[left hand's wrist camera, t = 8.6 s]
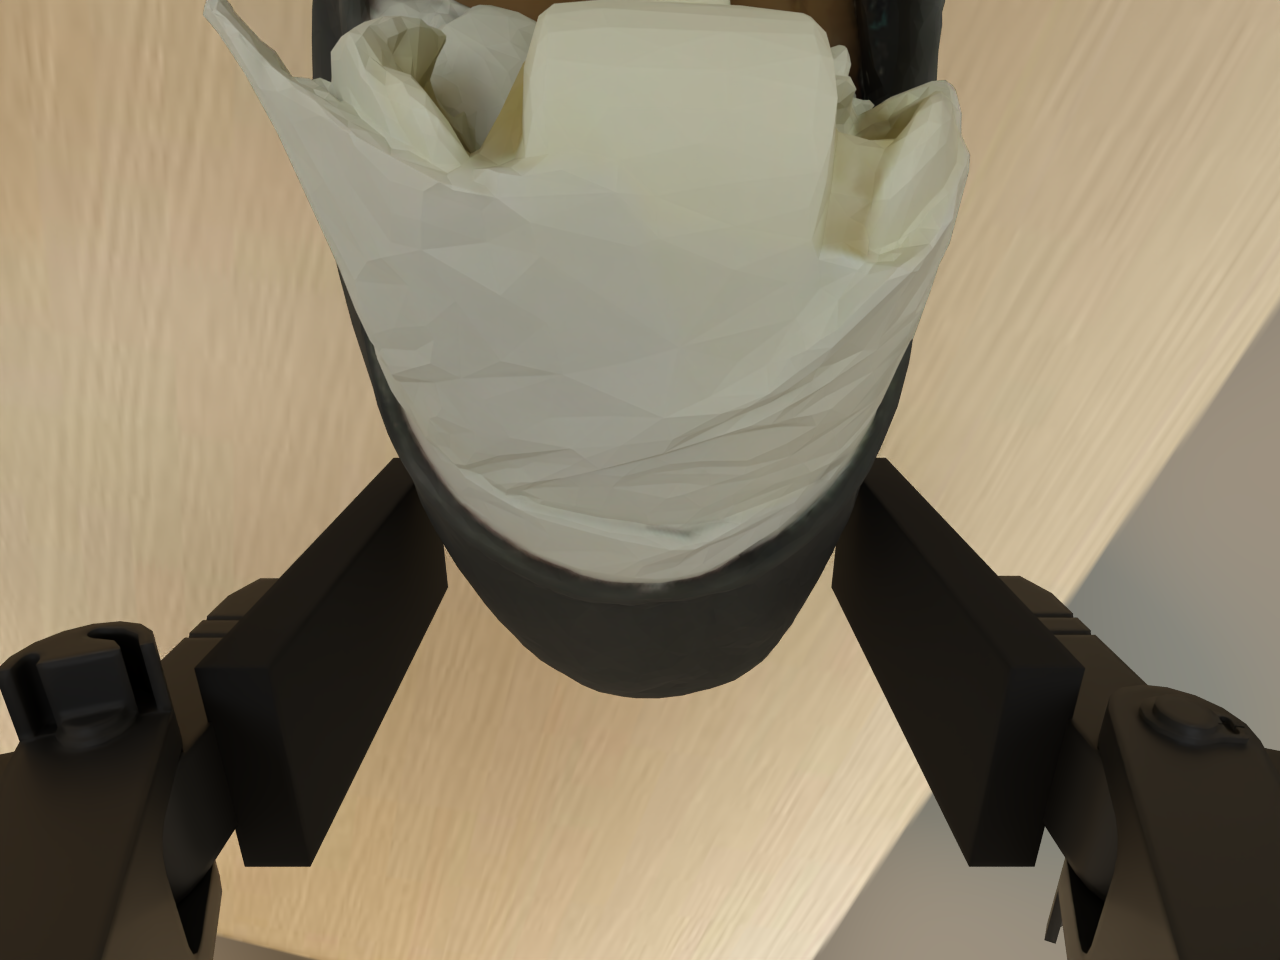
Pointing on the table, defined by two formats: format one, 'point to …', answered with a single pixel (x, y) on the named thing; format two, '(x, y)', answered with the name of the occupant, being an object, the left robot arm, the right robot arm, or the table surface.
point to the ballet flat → (629, 291)
